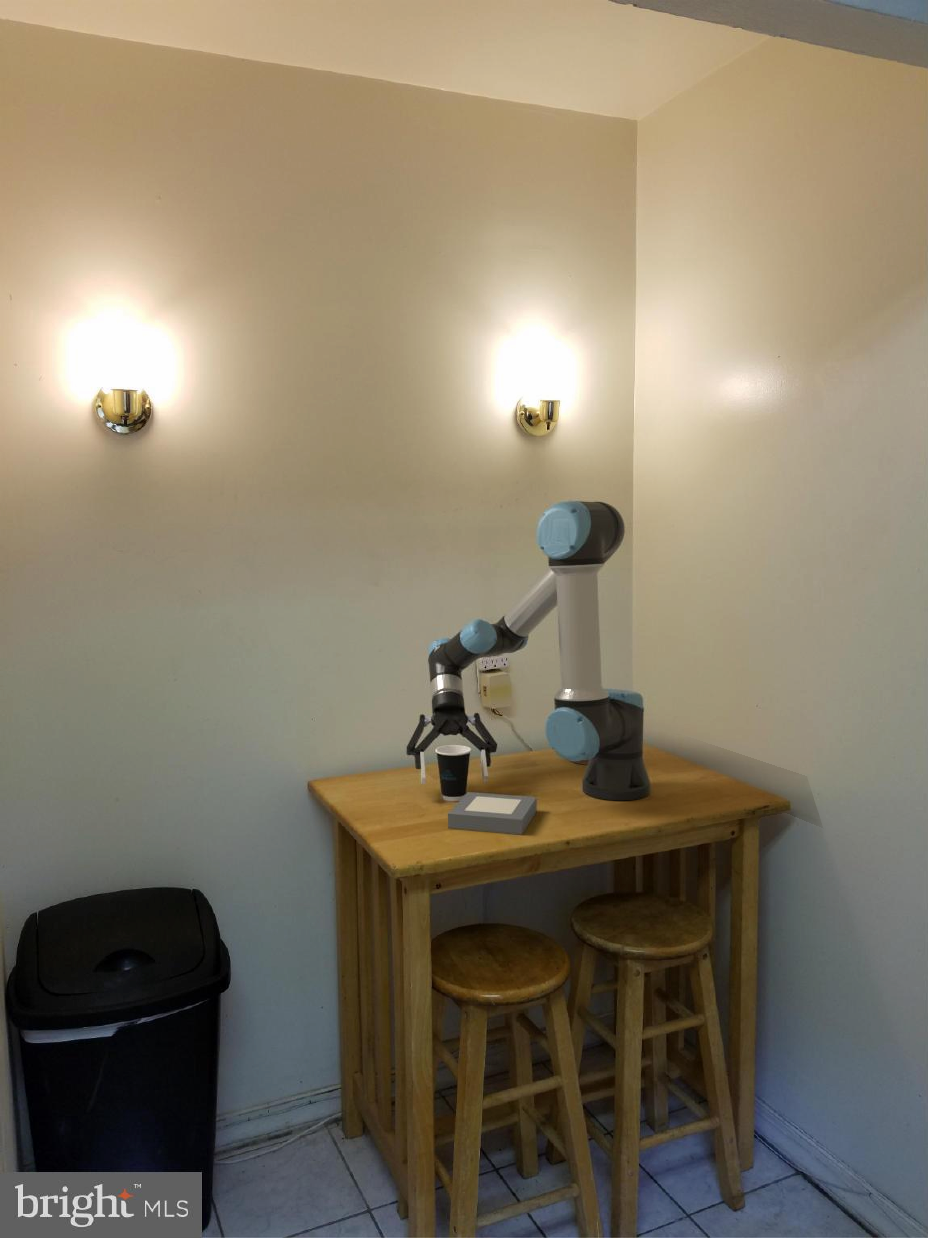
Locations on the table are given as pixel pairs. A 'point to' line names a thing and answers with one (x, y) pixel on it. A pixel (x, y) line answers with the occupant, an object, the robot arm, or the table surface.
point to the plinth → (493, 813)
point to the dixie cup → (453, 770)
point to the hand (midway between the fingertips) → (454, 780)
